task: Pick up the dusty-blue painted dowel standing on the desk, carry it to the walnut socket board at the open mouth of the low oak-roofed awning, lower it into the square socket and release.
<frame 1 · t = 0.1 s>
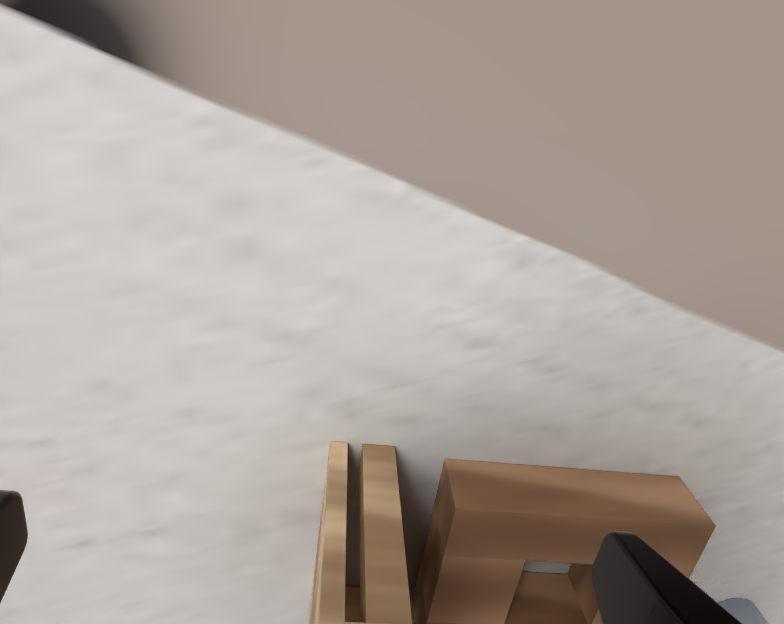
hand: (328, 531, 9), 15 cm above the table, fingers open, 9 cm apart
peg: (729, 616, 33), on the table
socket station: (539, 542, 30), on the table
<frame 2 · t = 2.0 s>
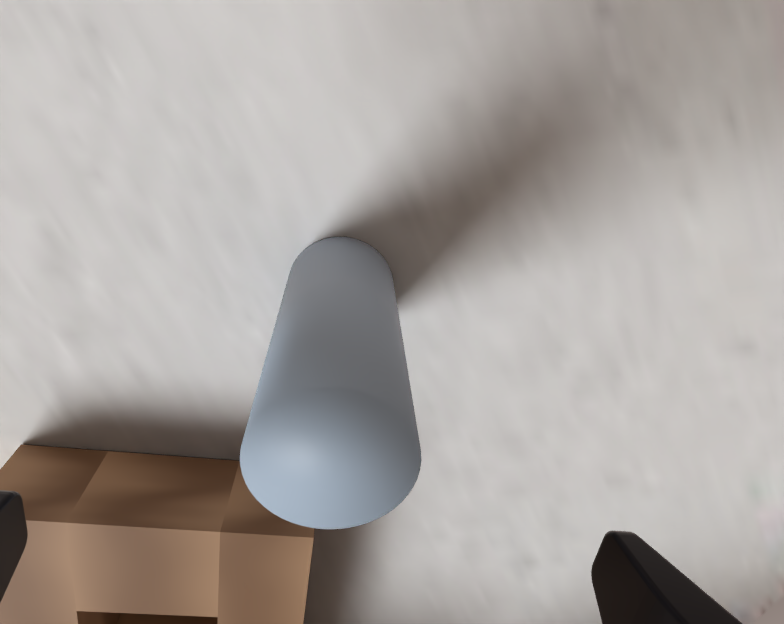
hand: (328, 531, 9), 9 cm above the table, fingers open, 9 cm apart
peg: (341, 287, 17), on the table
socket station: (176, 577, 22), on the table
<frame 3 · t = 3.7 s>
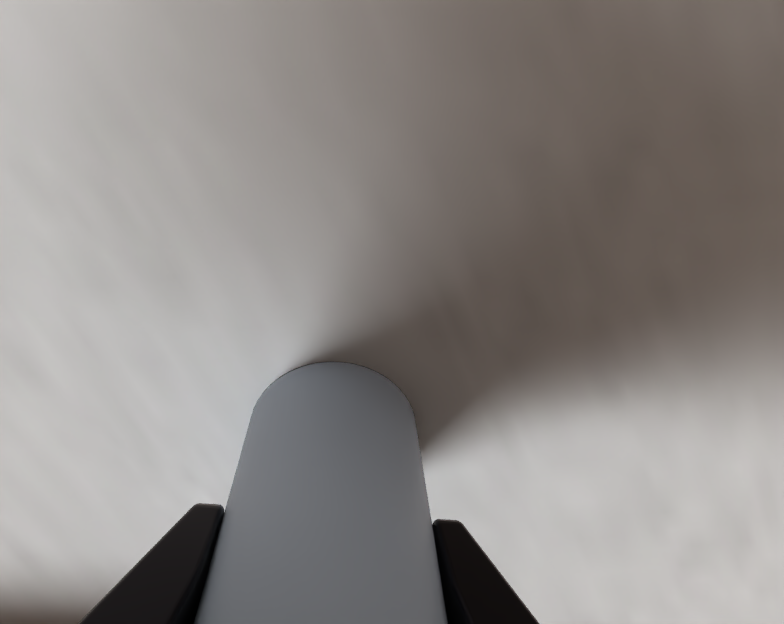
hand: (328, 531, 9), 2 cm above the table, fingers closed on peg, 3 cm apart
peg: (333, 433, 11), on the table, touching gripper
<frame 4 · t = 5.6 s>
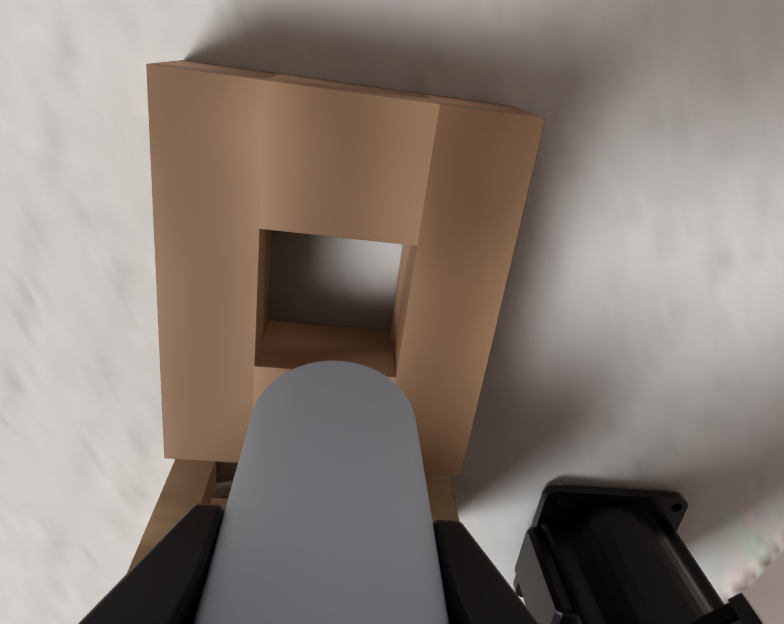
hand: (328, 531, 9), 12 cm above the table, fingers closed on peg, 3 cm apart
peg: (334, 432, 11), point 9 cm above the table, touching gripper
socket station: (335, 269, 20), on the table
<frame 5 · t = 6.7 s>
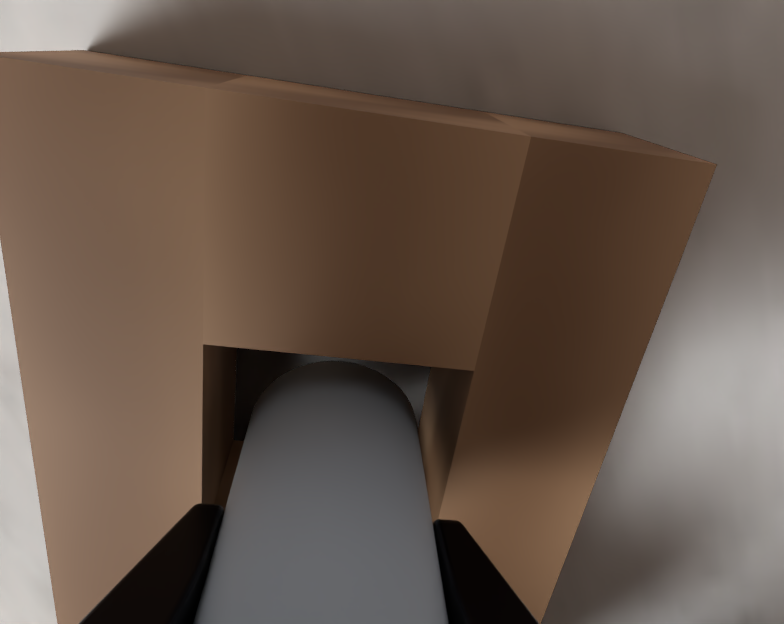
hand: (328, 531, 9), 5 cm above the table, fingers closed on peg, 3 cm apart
peg: (333, 432, 11), point 2 cm above the table, touching gripper
socket station: (334, 370, 13), on the table
when the fingers open (4 cm above the table, at t = 7.5 s): peg drops 1 cm, resting in socket station.
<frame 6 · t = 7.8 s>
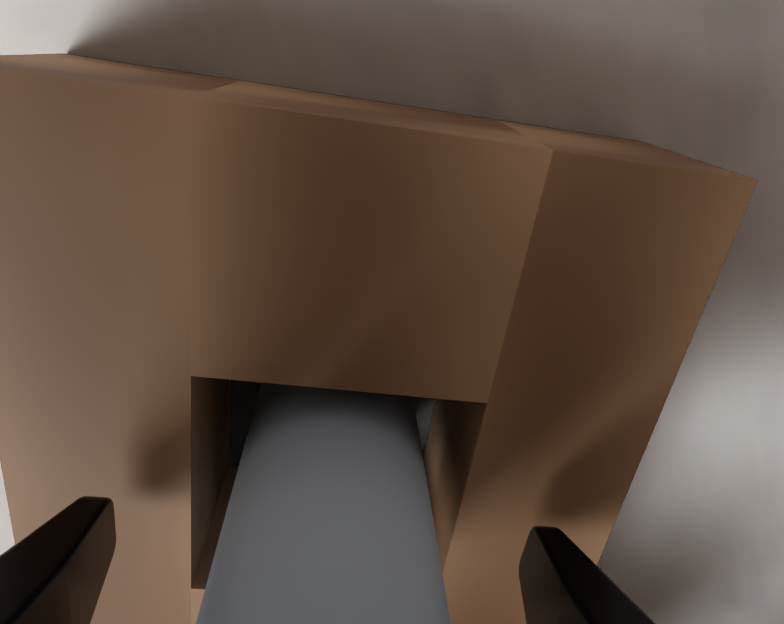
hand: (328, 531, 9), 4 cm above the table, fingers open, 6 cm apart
peg: (337, 392, 12), resting in socket station
socket station: (334, 393, 12), on the table
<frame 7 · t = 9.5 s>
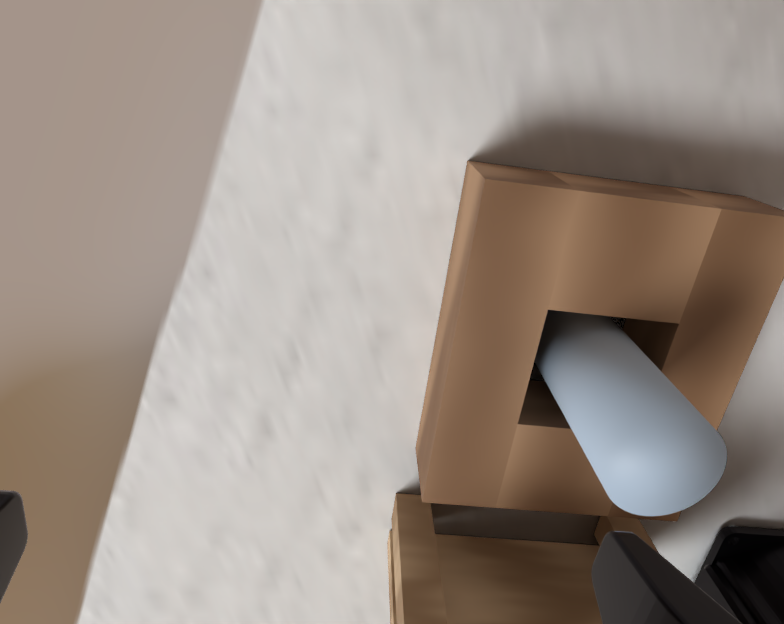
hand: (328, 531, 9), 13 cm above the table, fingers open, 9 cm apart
peg: (566, 332, 22), resting in socket station
socket station: (565, 333, 22), on the table
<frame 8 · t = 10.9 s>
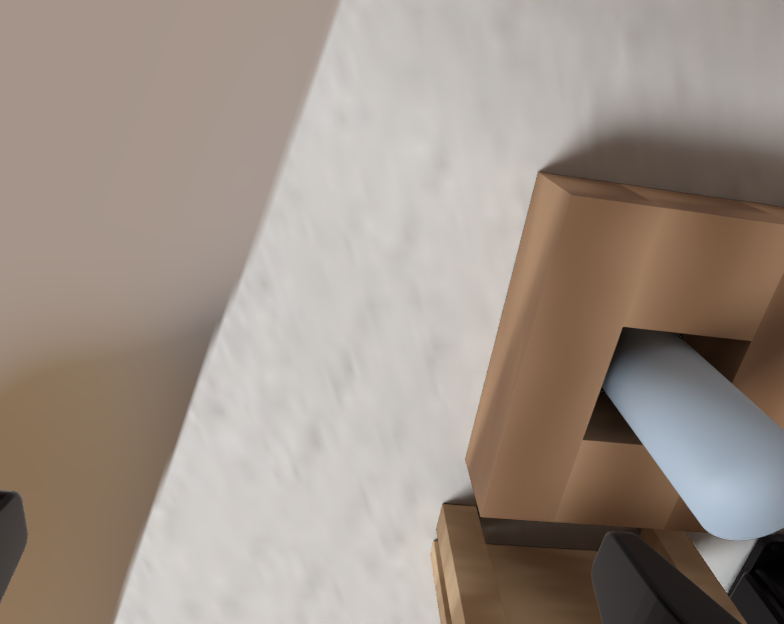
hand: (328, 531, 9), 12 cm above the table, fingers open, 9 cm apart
peg: (624, 345, 22), resting in socket station
socket station: (622, 346, 22), on the table
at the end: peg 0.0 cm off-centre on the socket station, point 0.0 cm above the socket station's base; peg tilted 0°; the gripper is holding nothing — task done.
